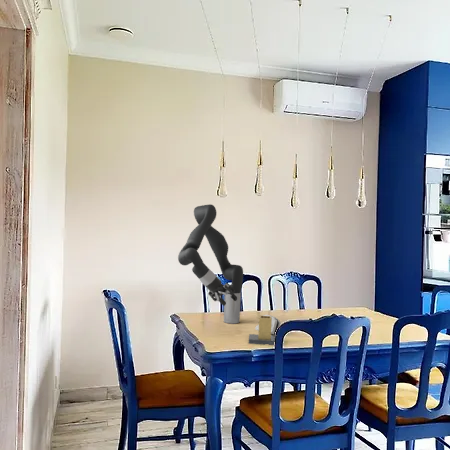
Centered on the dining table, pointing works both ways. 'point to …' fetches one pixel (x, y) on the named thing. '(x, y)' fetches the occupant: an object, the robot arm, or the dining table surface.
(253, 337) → the shaft stand
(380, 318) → the dining table surface
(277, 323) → the hinge
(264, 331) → the tan rectangular block
